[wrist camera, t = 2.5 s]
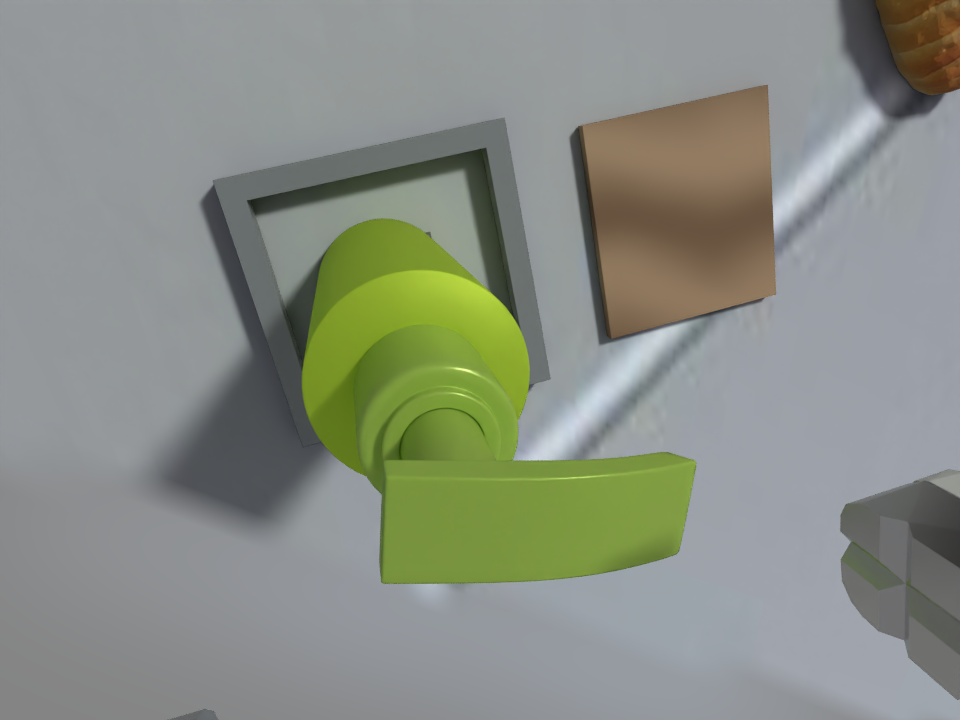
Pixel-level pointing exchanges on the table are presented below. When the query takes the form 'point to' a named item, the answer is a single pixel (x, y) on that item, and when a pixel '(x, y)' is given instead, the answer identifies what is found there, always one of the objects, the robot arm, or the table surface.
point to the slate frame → (507, 218)
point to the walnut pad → (681, 209)
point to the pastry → (924, 42)
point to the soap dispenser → (463, 427)
